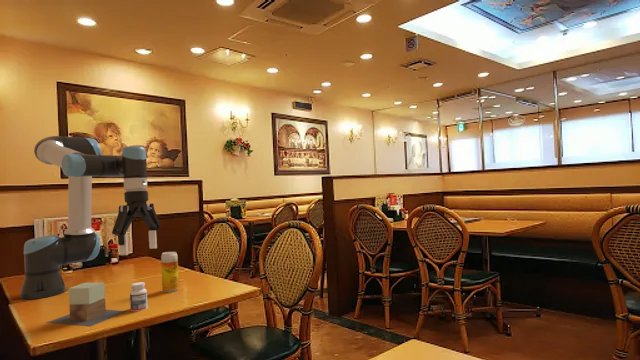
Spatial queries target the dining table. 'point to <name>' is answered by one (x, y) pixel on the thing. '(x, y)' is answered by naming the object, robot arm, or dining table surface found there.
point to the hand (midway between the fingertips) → (139, 251)
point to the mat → (91, 322)
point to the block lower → (87, 310)
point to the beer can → (169, 271)
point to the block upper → (86, 293)
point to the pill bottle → (138, 297)
